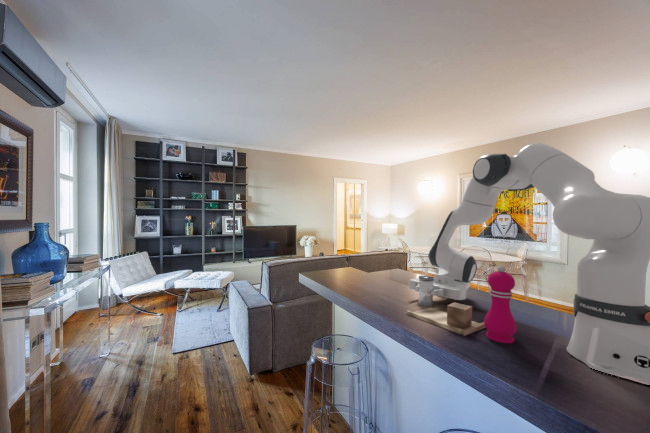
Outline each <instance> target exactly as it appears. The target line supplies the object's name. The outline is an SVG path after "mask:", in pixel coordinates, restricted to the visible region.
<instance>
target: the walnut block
mask: <svg viewBox="0 0 650 433" xmlns="http://www.w3.org/2000/svg"><path fill="white" fill-rule="evenodd" d="M446 313H447V324H448V325H451V326H454V327H457V328H460V329H463V330H464V329H466V328H469V327H472V321H473V306H472V305H467V304H462V303H458V302H455V301H454V302H452V303H450V304H447V310H446Z"/></svg>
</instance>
